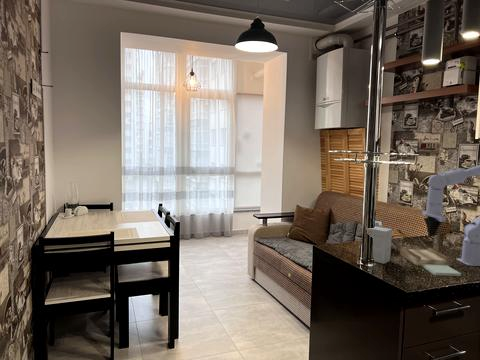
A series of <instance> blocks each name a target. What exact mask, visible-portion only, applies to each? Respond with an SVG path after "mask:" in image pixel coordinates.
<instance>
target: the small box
mask: <svg viewBox="0 0 480 360" xmlns="http://www.w3.org/2000/svg"><path fill="white" fill-rule="evenodd" d="M366 230H367V234H368V235H369V236H370V237H372V238H373V258H374V261H373V262H375V263H379V264H383V265H384V264H386V263H388V262H390V261H391V253H392V239H393V238H392V237H393V229H392V228H386V227H383V226H382V227H376V226H375V227H374V228H367V227H366Z"/></svg>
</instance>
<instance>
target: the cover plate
mask: <svg viewBox="0 0 480 360" xmlns="http://www.w3.org/2000/svg"><path fill="white" fill-rule="evenodd" d="M420 267H422V268H424V269H425V270H427V272H430V273H431V274H432V275H434V276H449V277H462V273H461V272H459V271H457V270H456V269H454V268H452V267H449V266H447V265H443V264H421V266H420Z"/></svg>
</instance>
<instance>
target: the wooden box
mask: <svg viewBox="0 0 480 360" xmlns="http://www.w3.org/2000/svg"><path fill="white" fill-rule="evenodd" d="M399 254H400V256H402V257H403V258H405V259H406V260H408V261H409V262H411V263H412V264H413V265H415V266H418V267H422V266H421V264H443V265H447V266H449V267H450V266H451V260H450V257H448V256H446V255H444V254H443V253H441V252H438V251H436V250H435V249H433V248H432V247H427V249H412V248H411V249H410V248H407V247H405V246H401V248H400V253H399Z"/></svg>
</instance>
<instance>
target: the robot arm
mask: <svg viewBox="0 0 480 360" xmlns="http://www.w3.org/2000/svg"><path fill="white" fill-rule="evenodd" d="M477 175H480V164H479V165H475V166H473V167H470V168H467V169H463V168H460V167H458V168H456V167H453V168H452V169H451V170H448V171H446V172H443V171H440V172H439V174H432V175H430V177H429V178H428V181H427V184H428V185H429V186H428V192H427V199H426V207H425V208H426V210H422V213H421V215H422V216H425V217H424V218H423V220H424V222H425V224H426V229H427V230H426V231H427V234H428V236H431V237H435V236H436V233H437V230H438V229H439V227H440V226H441V224H442V223H446V220H447V217H446V216H445V215H443V214H442V213H443V212H442V211H443V202H444V188H445V187H449V186H452V185H455V184H460V183H463V182H465V181H466V180H467V178H470V177H474V176H477ZM463 234H464V235H465V237H464V238H463V241H462V249H461V251H462V252H461V258H460V257H459V258H456V261H459V262H460V263H463V264H464V265H466V266H471V267H480V215H479V216H478V217H476V218H475V219H473V220H472V222H471V223H468V224H466V225H465V226H464V227H463Z"/></svg>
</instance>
